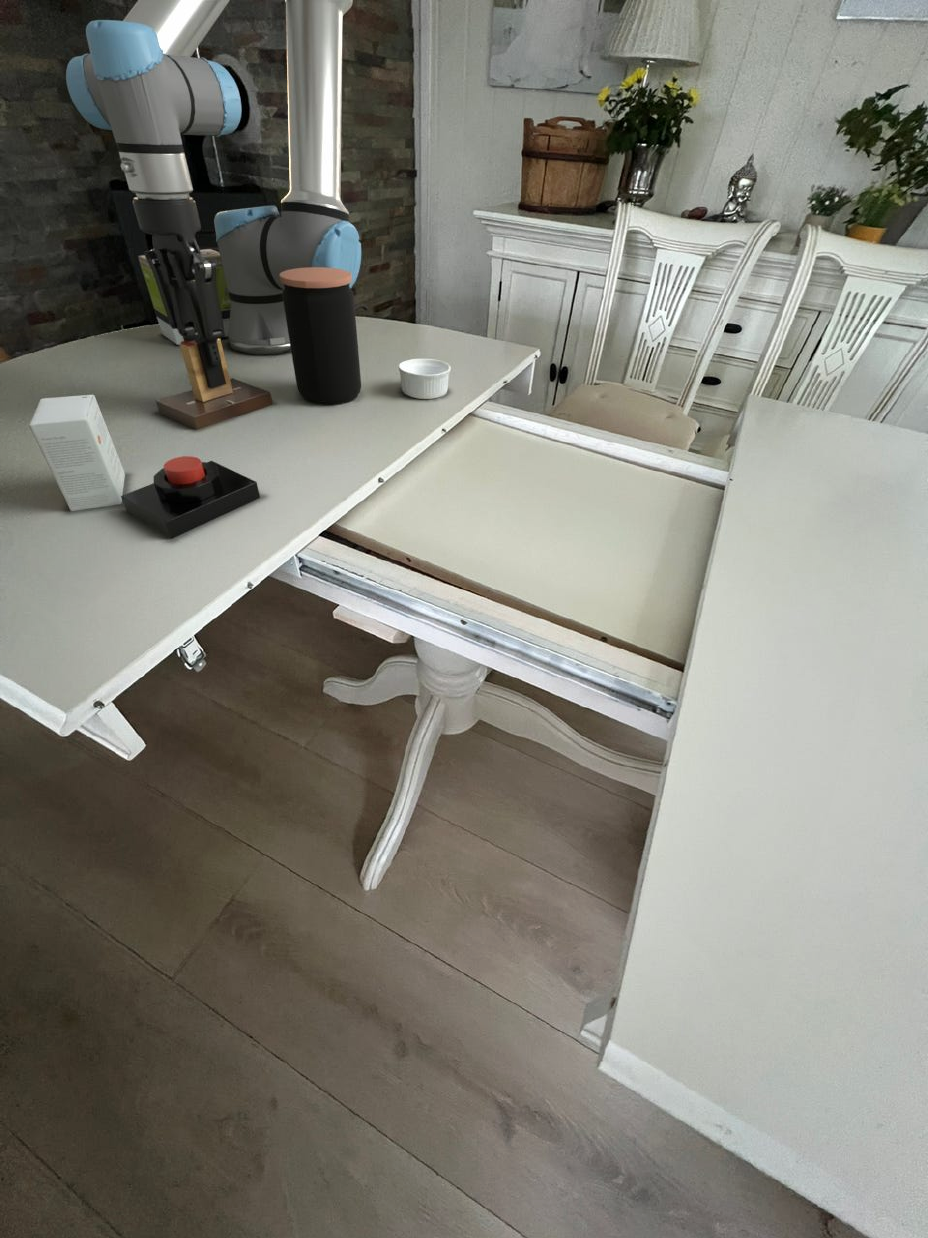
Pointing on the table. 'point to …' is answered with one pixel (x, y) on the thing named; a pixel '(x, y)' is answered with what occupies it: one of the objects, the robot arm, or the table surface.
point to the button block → (190, 499)
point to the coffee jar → (322, 334)
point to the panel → (214, 405)
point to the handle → (198, 375)
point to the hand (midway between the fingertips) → (210, 382)
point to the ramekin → (424, 378)
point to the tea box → (220, 280)
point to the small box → (79, 451)
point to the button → (184, 470)
